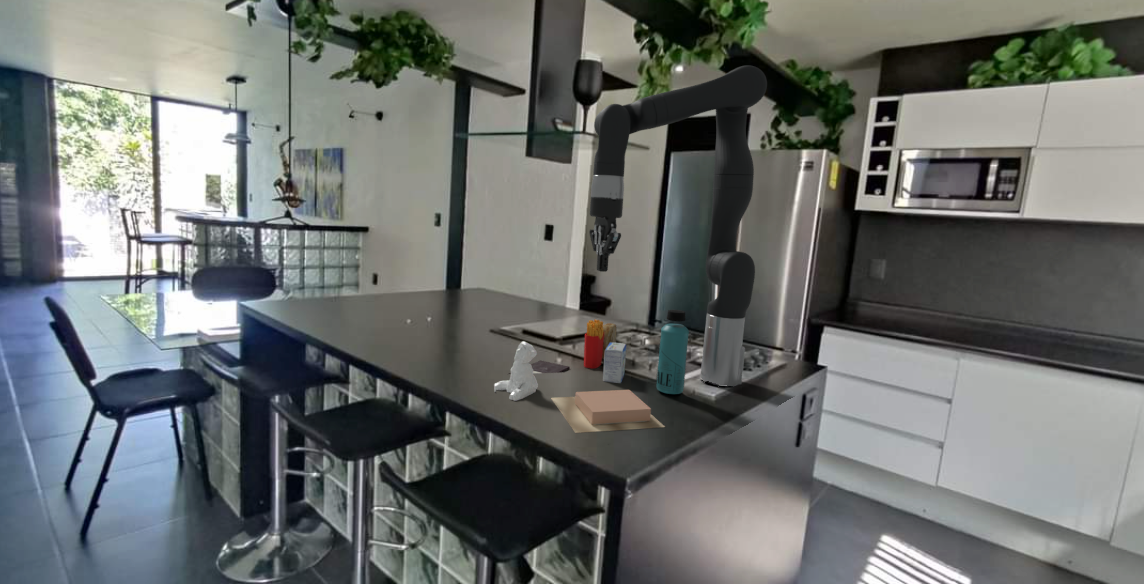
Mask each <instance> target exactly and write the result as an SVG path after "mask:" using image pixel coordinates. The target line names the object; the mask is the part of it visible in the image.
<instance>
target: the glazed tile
mask: <svg viewBox="0 0 1144 584" xmlns="http://www.w3.org/2000/svg"><path fill="white" fill-rule="evenodd" d="M574 397H575V404H576V405H577V406H578V408H579V409H580V410H581V411H582V413H583V414H584V415H585V416H586V418H587V419H588V420H589V421H590V423H591V424H593V425H597V424H613V423H629V422H645V421H650V415H652V414H651V413H652V408H651V407H650V406H649V405H647V404H646V403H645V402H644V401H643V400H642V399H640V397H638V396H637V395H636V394H635V393H633V391H631V390H630V389H617V390H615V389H614V390H612V389H611V390H593V391H592V390H591V391H576V392H575V395H574Z"/></svg>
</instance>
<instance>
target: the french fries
mask: <svg viewBox="0 0 1144 584" xmlns="http://www.w3.org/2000/svg"><path fill="white" fill-rule="evenodd" d="M603 325H604V321H602V320H600V319H596V318H595V319H594V320H591V319H590V320H588V322H586V333H585V334H584V346H583V347H584V348H583V367H584V368H585V369H587V368H588V369H591V370H592V369H597V368H600V367H601V365H602V361H603V358H602V352H603V341H604V329H603Z"/></svg>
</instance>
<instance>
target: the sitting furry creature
mask: <svg viewBox="0 0 1144 584" xmlns="http://www.w3.org/2000/svg"><path fill="white" fill-rule="evenodd" d="M515 351H516V352H515V355H514V358H513V361H514V362H513V364H512V367H511V368H510V373H511V374H509V376H510V377H509V380H507V379H506V380H499V381H498V382H495V383H493V387H494V388H493V392H494V393H497V391H506V393H510V394H509V397H508V399H509V400H511V401H514V402H515V401H520V400H523V399H524V398H527V397H529V396H530V395H532V394H535V393H536V391H537V389H538V386H539V383H538V381H537V378H536V376H535V373H533V369H532V365H531V364H532V363H530V362H531V361H532V360H533V359H534V358H535V357H536V356H537V350H536V349H535V348H534V346H533V345H532V344H530V343H528V342H526V341H524V340H523V341H521V342H520V343H519V344H518V346H517V348H516V350H515Z"/></svg>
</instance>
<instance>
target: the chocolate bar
mask: <svg viewBox="0 0 1144 584" xmlns="http://www.w3.org/2000/svg"><path fill="white" fill-rule="evenodd" d="M530 364H531V365H532V369H533V373H534V374H556V373H558V374H559V373H561V374H562V373H564V372H566V371H568V370H570V366H568V365H564V364H558V363H554V362H549V361H545V360H540V359H539V360H537V361H535V362H533V363H530ZM508 375H511V372H509V373H508Z"/></svg>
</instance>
